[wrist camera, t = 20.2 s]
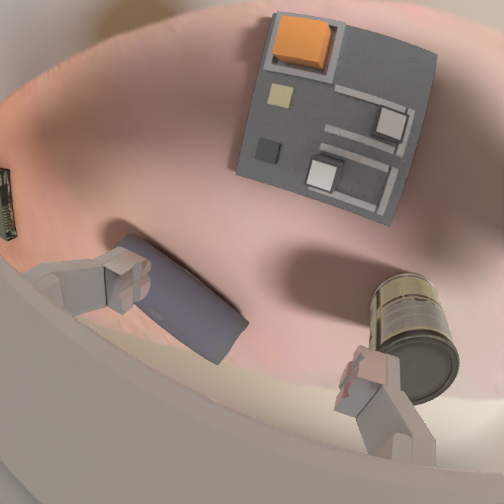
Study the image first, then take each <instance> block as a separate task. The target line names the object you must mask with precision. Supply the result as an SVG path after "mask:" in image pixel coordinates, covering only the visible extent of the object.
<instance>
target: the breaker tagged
mask: <svg viewBox="0 0 504 504" xmlns="http://www.w3.org/2000/svg"><path fill="white" fill-rule="evenodd" d="M409 116H410V115H408V114H406V113H403V112H400V111H398V110H395V109H392V108H390V107H387V106H384V105H381V104H380V105H379V107H378V109H377V113H376V117H375V120H374V124H373V128H372V132H371V134H372V135H375V136H378V137H381V138H383V139H386V140H389V141H391V142H394V143H398V144H402V142H403V138H404V135H405V131H406V127H407V124H408V120H409Z"/></svg>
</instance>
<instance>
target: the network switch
mask: <svg viewBox="0 0 504 504" xmlns="http://www.w3.org/2000/svg"><path fill="white" fill-rule="evenodd" d="M9 172H10V170H8V169H0V237H1V238H3V239H4V240H6V241H10V240H12V239H14V238H16V237H17V233H16V230H15V226H14V225H15V222H14V221H13V220H14V218H13V209H12V203H11V202H12V199H11V192H10V182H9V181H10V178H9ZM12 222H13V223H12Z"/></svg>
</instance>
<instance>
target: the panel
mask: <svg viewBox="0 0 504 504" xmlns="http://www.w3.org/2000/svg"><path fill="white" fill-rule="evenodd" d="M281 15H285V16H293V17H300V18H307V19H313V20H318V21H324V22H328V25H329V28H330V30H331V33H332V35H331V39H330V44H329V48H328V52H327V57H326V61H325V65H324V69H323V70H320V69H315V68H311V67H306V66H301V65H296V64H291V63H286V62H281V61H280V60H279V59H278V58H277V57H275V56H274V55H273V54H272V51H273V47H274V43H275V39H276V35H277V31H278V27H279V23H280V19H281ZM437 56H438V55H437V54H435V53H432V52H430V51H428V50H425V49H422V48H420V47H417V46H415V45H412V44H409V43H406V42H403V41H401V40H398V39H395V38H391V37H388V36H385V35H382V34H378V33H375V32H372V31H368V30H364V29H360V28H356V27H352V26H348V25H346V23H345V22H340V21H336V20H331V19H326V18H320V17H315V16H309V15H302V14H295V13H287V12H279V11H278V12H277V13H273V16H272V20H271V24H270V28H269V31H268V35H267V39H266V43H265V47H264V51H263V56H262V60H261V64H260V68H259V72H258V76H257V80H256V85H255V89H254V93H253V98H252V102H251V106H250V111H249V115H248V120H247V124H246V128H245V133H244V138H243V142H242V147H241V151H240V156H239V161H238V165H237V170H236V175H239V176H242V177H245V178H249V179H252V180H256V181H259V182H262V183H265V184H269V185H272V186H275V187H278V188H282V189H285V190H288V191H291V192H294V193H297V194H300V195H303V196H306V197H309V198H312V199H315V200H318V201H321V202H324V203H327V204H330V205H333V206H335V207H338V208H341V209H344V210H347V211H349V212H352V213H355V214H358V215H360V216H363V217H366V218H368V219H371V220H374V221H376V222H379V223H382V224H384V225H387V226H389V227H390V225H391V222H392V219H393V217H394V214H395V211H396V208H397V206H398V203H399V200H400V197H401V194H402V191H403V188H404V185H405V182H406V179H407V176H408V173H409V170H410V167H411V164H412V160H413V157H414V154H415V150H416V147H417V143H418V140H419V136H420V133H421V129H422V125H423V121H424V117H425V113H426V109H427V105H428V101H429V96H430V92H431V87H432V82H433V77H434V72H435V67H436V62H437ZM380 104H381V105H384V106H387V107H390V108H392V109H395V110H398V111H400V112H403V113H406V114H408V115H410V116H409V120H408V124H407V127H406V131H405V135H404V138H403V142H402V144H398V143H394V142H391V141H389V140H386V139H383V138H381V137H378V136H375V135H372V134H371V132H372V128H373V124H374V120H375V117H376V113H377V109H378V107H379V105H380ZM319 153H320V154H323V155H327V156H330V157H333V158H336V159H339V160H342V161H344V164H343V168H342V171H341V175H340V178H339V181H338V185H337V187H336V189H335V190H334V192H333V194H330V193H327V192H324V191H321V190H318V189H315V188H312V187H309V186H306V185H304V181H305V177H306V174H307V170H308V166H309V163H310V159H311V156H313V155H316V154H319Z"/></svg>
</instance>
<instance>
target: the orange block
mask: <svg viewBox="0 0 504 504" xmlns="http://www.w3.org/2000/svg"><path fill="white" fill-rule="evenodd" d="M331 35H332V33H331V30H330V28H329V25H328V22H324V21H318V20H313V19H307V18H300V17H293V16H285V15H281V19H280V23H279V27H278V31H277V35H276V39H275V43H274V47H273V51H272V54H273V55H274V56H275V57H277V58H278V59H279V60H280V61H281V62H286V63H291V64H296V65H301V66H306V67H311V68H315V69H320V70H323V69H324V65H325V61H326V57H327V52H328V48H329V44H330V39H331Z"/></svg>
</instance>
